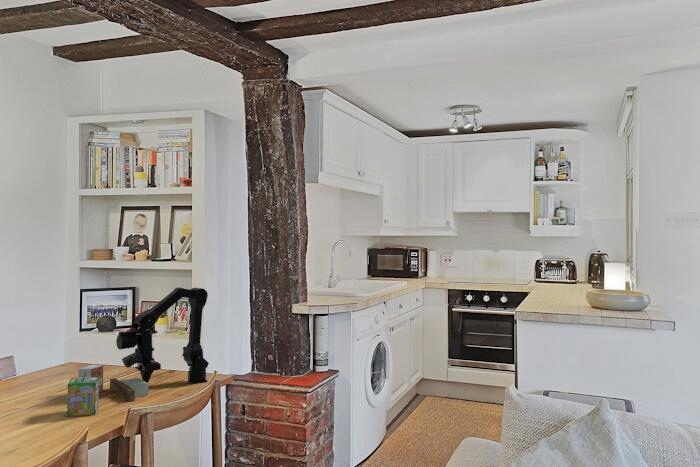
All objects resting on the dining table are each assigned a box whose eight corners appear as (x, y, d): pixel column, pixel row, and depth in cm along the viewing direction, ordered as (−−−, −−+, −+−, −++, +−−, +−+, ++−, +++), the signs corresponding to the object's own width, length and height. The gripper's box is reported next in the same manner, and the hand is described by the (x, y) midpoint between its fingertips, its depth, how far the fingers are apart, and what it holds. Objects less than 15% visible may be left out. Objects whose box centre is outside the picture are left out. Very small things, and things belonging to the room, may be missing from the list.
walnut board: (115, 388, 239) (115, 378, 239) (134, 400, 220) (134, 390, 220) (109, 388, 237) (109, 378, 237) (129, 401, 219) (129, 391, 219)
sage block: (137, 388, 238) (138, 377, 238) (148, 395, 228) (148, 383, 228) (120, 391, 233) (120, 380, 233) (129, 398, 224) (130, 386, 224)
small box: (90, 396, 226) (91, 369, 226) (77, 395, 227) (78, 368, 227) (103, 391, 234) (103, 364, 234) (91, 390, 235) (91, 364, 235)
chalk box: (71, 410, 208) (71, 368, 208) (99, 408, 211) (99, 366, 211) (66, 417, 199) (66, 373, 199) (95, 415, 202) (95, 372, 202)
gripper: (116, 345, 237) (117, 383, 237) (131, 352, 222) (132, 393, 222) (144, 341, 244) (145, 379, 244) (160, 348, 229) (161, 388, 229)
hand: (145, 384), depth 234 cm, fingers closed, pressing on sage block
